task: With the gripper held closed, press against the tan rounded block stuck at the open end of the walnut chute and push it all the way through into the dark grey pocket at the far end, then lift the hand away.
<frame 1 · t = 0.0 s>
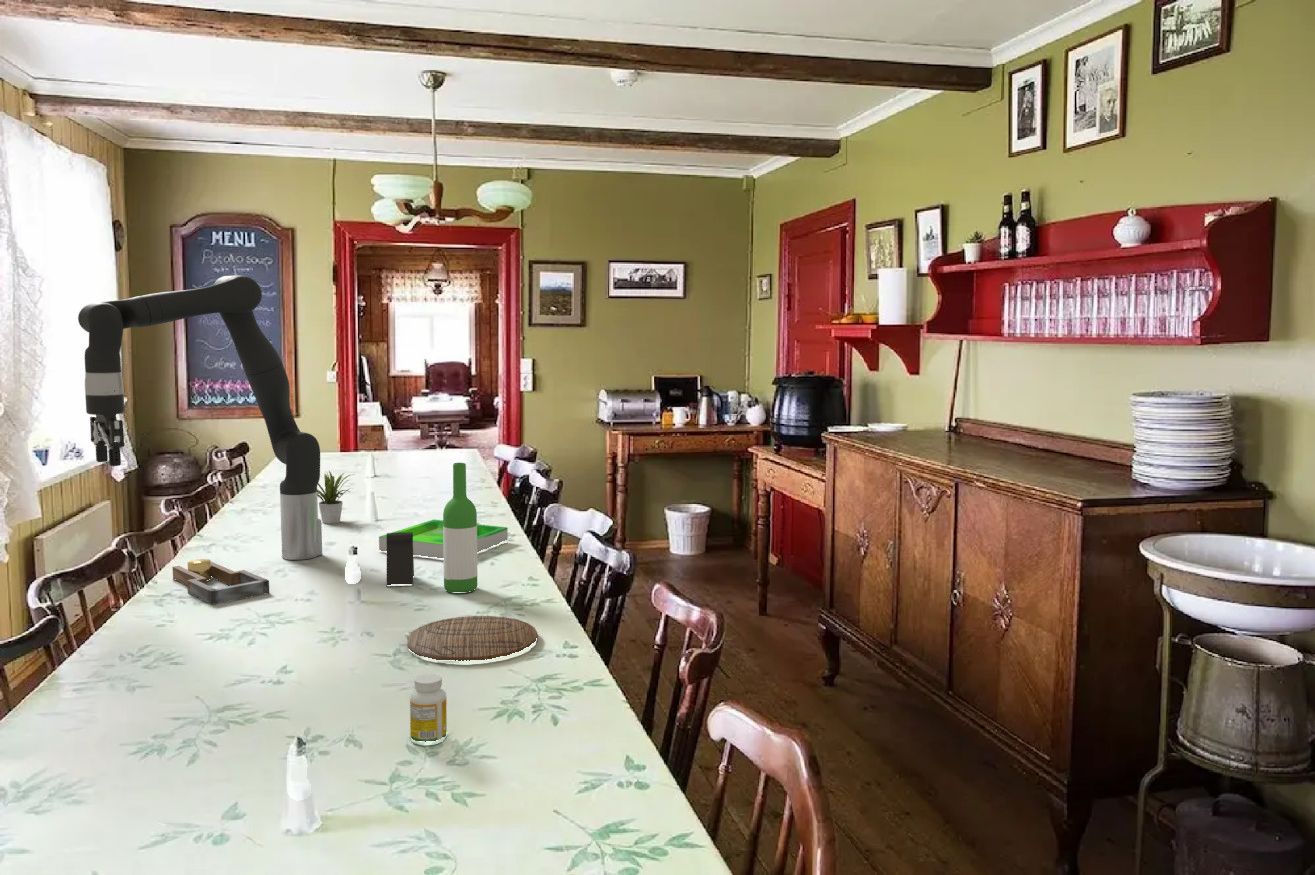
hand: (108, 463, 217), 29 cm above the table, tool pointing down, fingers open, 8 cm apart
door stopper: (400, 582, 230), on the table
house plant: (335, 523, 296), on the table
wine bottle: (460, 591, 224), on the table
tray: (445, 550, 266), on the table
chute: (205, 582, 228), on the table
trivet: (473, 645, 188), on the table
supplement bottle: (428, 740, 144), on the table
tan rounded block: (199, 580, 230), resting in chute
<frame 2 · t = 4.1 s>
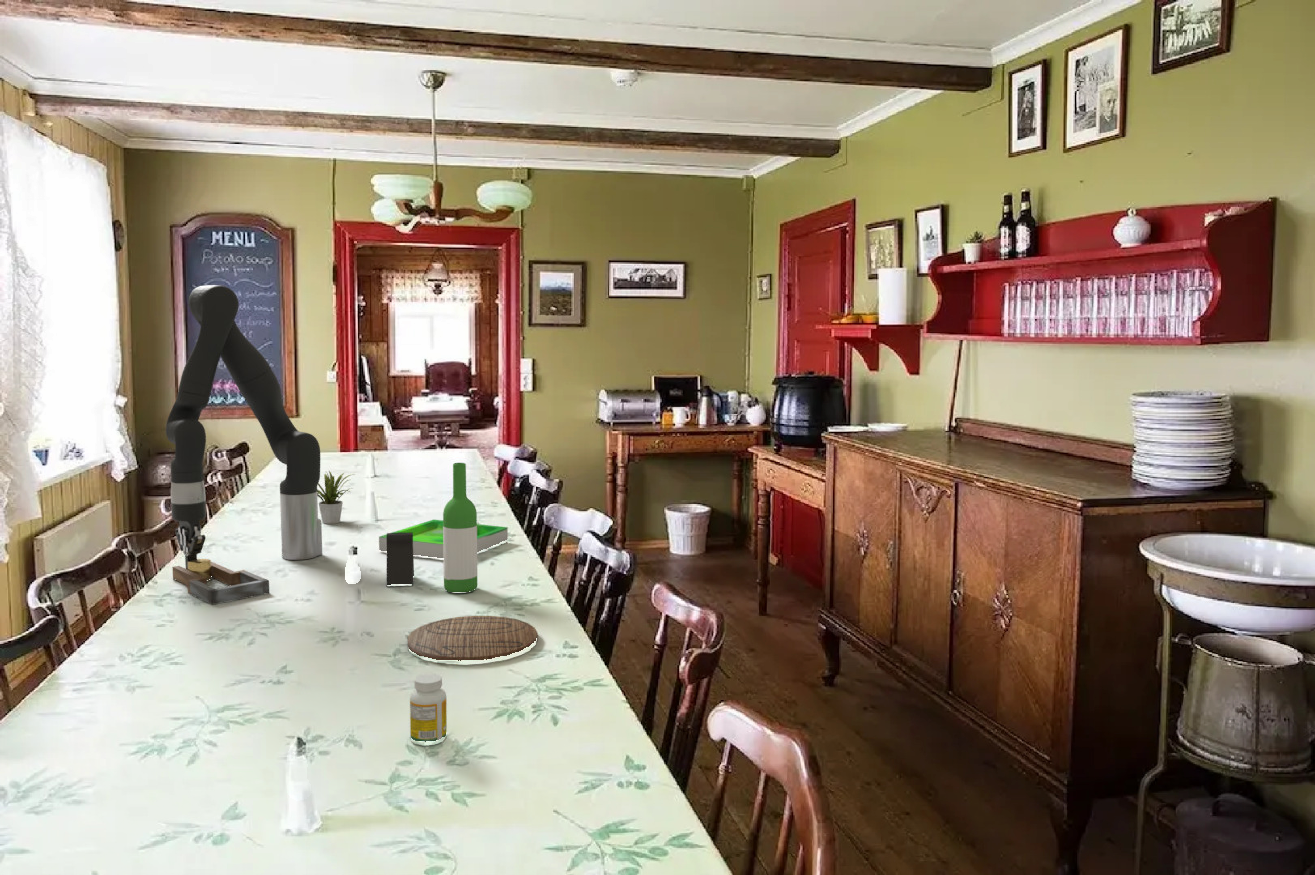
hand: (191, 569, 233), 2 cm above the table, tool pointing down, fingers closed
tan rounded block: (199, 579, 230), resting in chute, touching gripper
everything else where it was.
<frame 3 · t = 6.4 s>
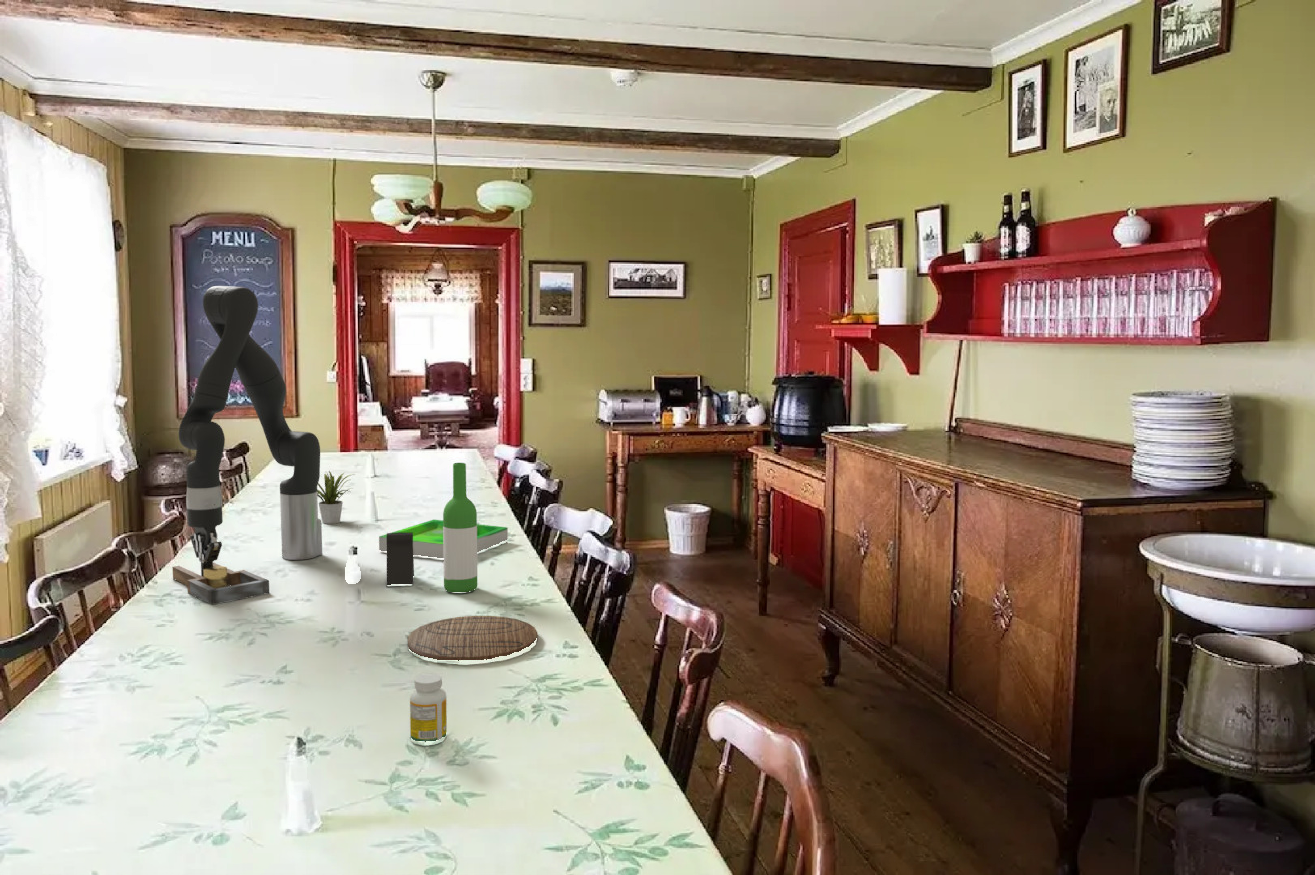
hand: (207, 577, 226), 2 cm above the table, tool pointing down, fingers closed
tan rounded block: (216, 587, 223), resting in chute, touching gripper
everything else where it was.
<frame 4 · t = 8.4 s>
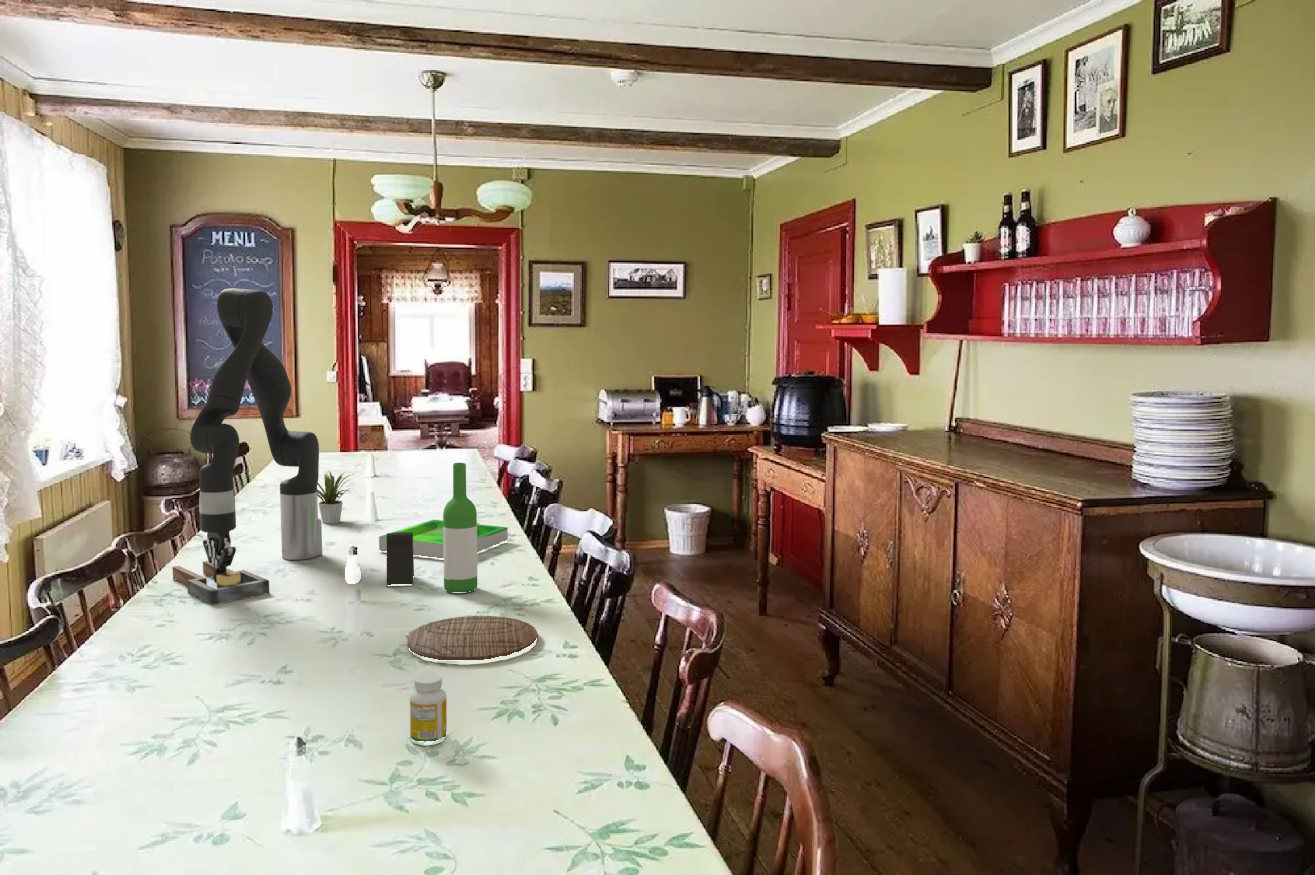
hand: (220, 583, 222), 2 cm above the table, tool pointing down, fingers closed
tan rounded block: (229, 593, 219), resting in chute, touching gripper
everything else where it was.
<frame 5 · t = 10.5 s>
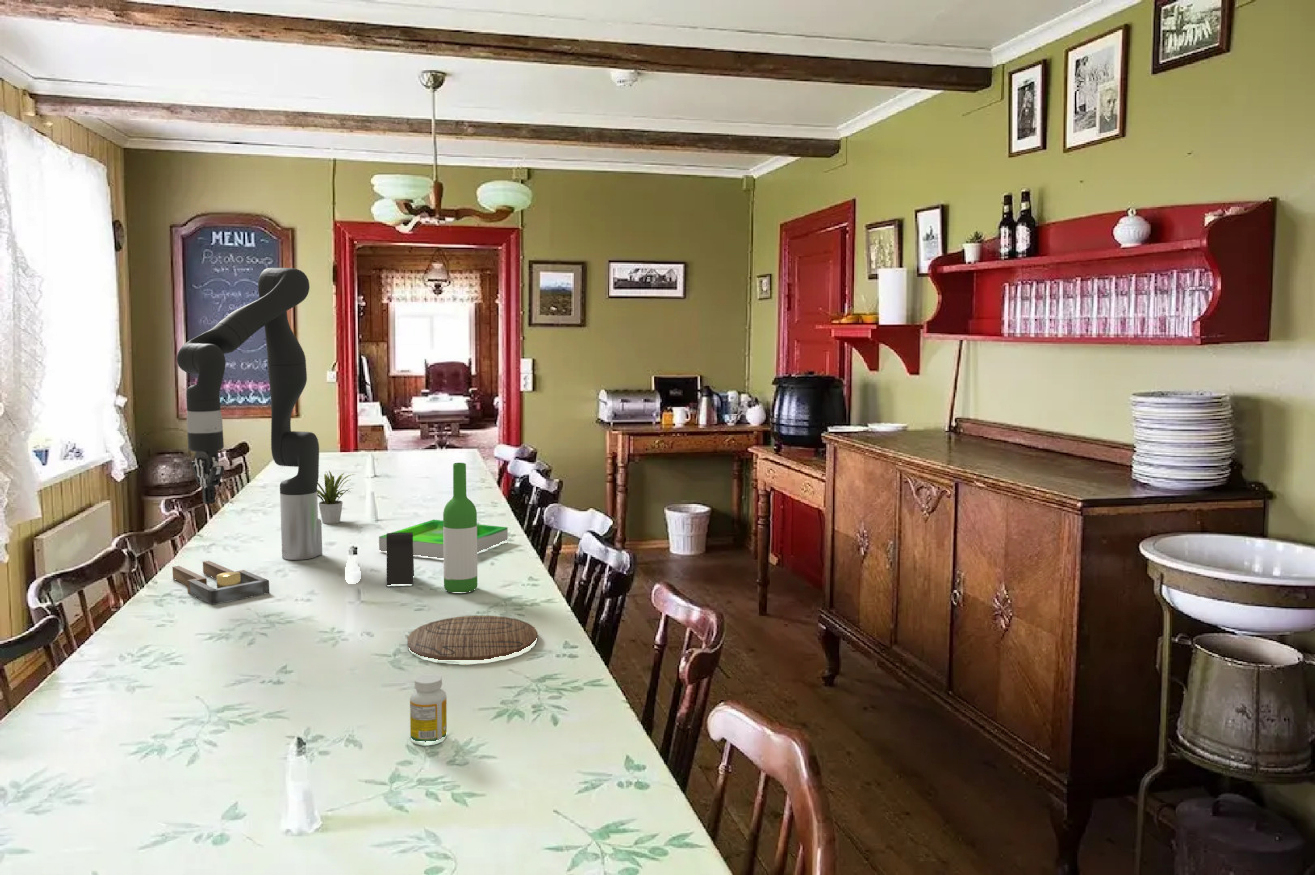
hand: (209, 502, 225), 19 cm above the table, tool pointing down, fingers closed
tan rounded block: (229, 594, 219), resting in chute
everything else where it was.
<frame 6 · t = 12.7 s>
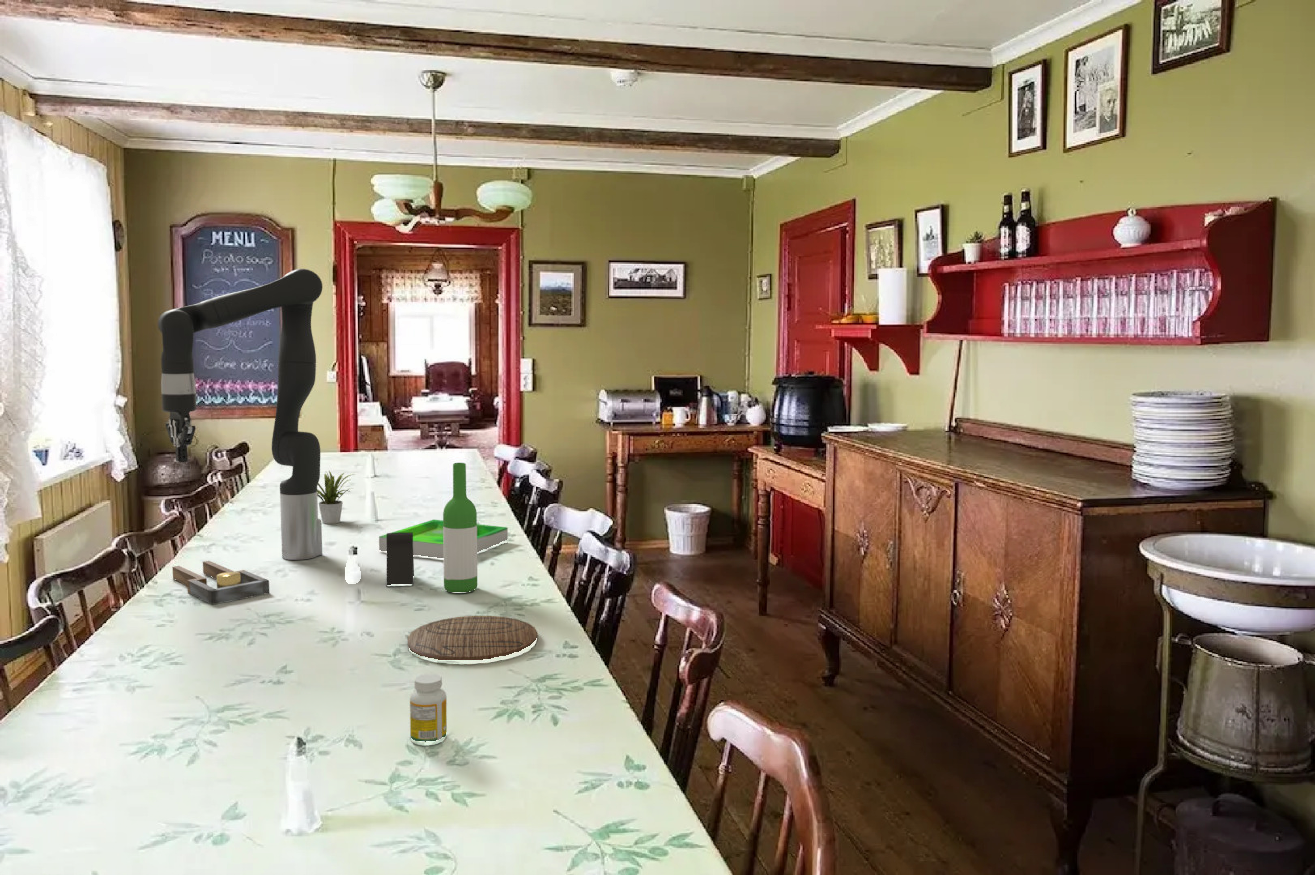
hand: (181, 461, 237), 27 cm above the table, tool pointing down, fingers closed
nothing on the table moved.
at the end: tan rounded block inside the target area (0.4 cm from its centre), resting in chute; tan rounded block tilted 0° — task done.
